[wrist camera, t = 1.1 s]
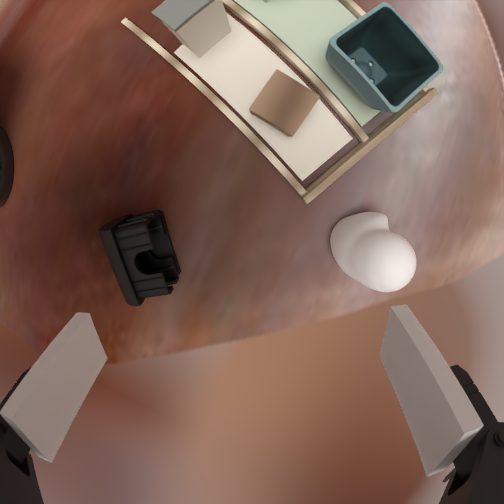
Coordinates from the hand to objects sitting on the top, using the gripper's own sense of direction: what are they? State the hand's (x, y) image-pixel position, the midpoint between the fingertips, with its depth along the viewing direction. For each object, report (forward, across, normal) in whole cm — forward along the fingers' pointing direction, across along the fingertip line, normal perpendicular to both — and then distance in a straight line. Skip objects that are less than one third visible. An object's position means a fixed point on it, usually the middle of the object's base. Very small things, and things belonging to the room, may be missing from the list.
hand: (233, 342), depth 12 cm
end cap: (+25, -14, -5) cm, 29 cm away
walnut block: (+24, +4, +11) cm, 27 cm away
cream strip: (+25, +2, +14) cm, 28 cm away
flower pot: (+24, +14, +16) cm, 33 cm away
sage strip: (+25, +10, +21) cm, 34 cm away
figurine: (+25, +13, -5) cm, 29 cm away
